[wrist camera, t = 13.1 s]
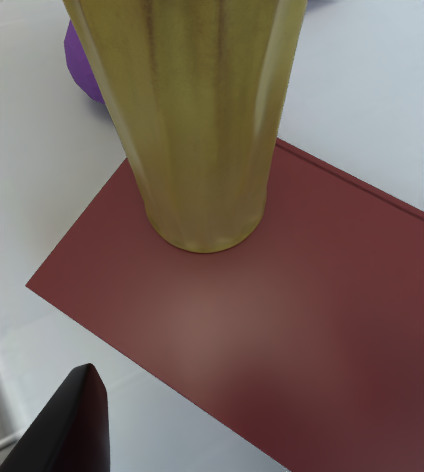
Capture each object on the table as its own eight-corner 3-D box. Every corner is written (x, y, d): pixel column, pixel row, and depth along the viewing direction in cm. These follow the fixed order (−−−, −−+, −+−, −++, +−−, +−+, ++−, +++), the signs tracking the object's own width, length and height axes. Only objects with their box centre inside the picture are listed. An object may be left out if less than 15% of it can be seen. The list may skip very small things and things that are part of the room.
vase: (260, 141, 19) (360, -383, 6) (271, 251, 17) (472, -146, 4) (145, 147, 19) (-31, -363, 6) (144, 257, 17) (-133, -113, 4)
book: (488, 283, 20) (538, 269, 17) (392, 529, 16) (433, 570, 13) (186, 124, 23) (181, 88, 20) (55, 296, 20) (24, 285, 17)
